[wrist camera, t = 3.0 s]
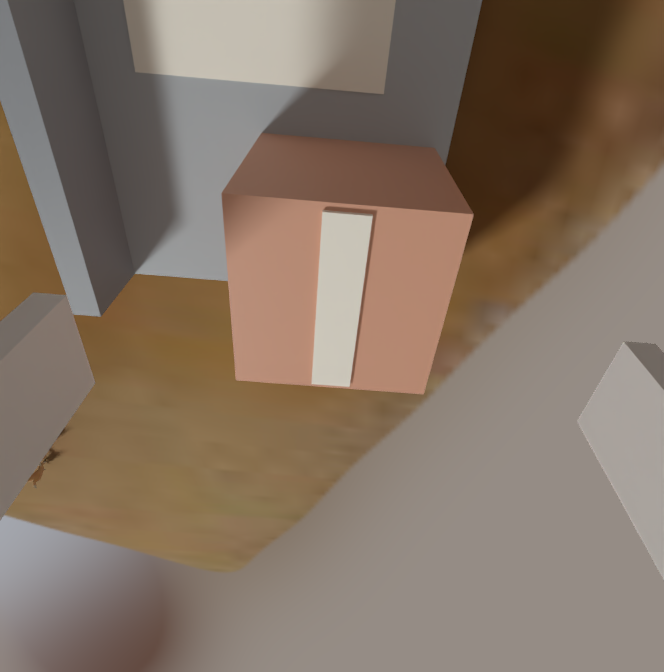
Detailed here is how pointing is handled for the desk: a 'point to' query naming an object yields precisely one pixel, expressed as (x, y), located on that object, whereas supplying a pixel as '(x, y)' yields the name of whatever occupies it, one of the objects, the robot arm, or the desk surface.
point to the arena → (204, 112)
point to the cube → (341, 261)
